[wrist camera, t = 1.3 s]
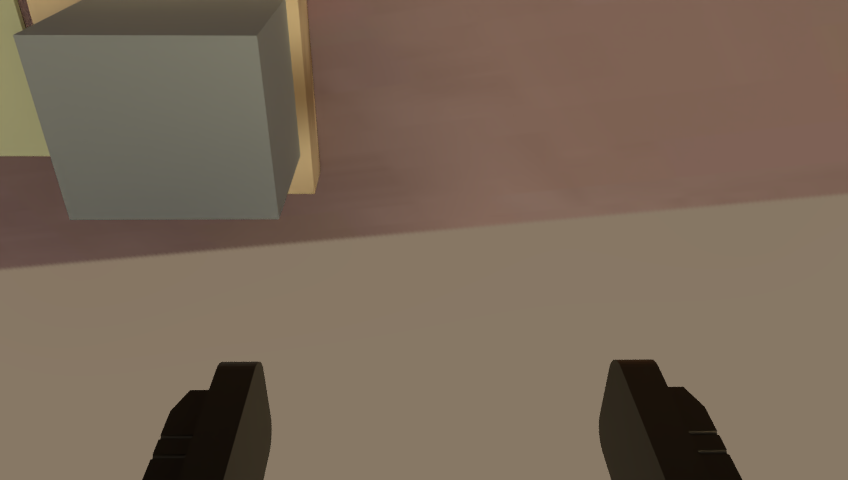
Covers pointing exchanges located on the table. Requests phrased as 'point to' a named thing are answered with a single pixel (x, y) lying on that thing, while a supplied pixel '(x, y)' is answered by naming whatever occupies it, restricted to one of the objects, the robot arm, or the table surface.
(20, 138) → the mat
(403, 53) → the table surface
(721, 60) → the table surface
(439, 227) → the table surface
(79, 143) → the box
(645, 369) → the robot arm
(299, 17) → the block
